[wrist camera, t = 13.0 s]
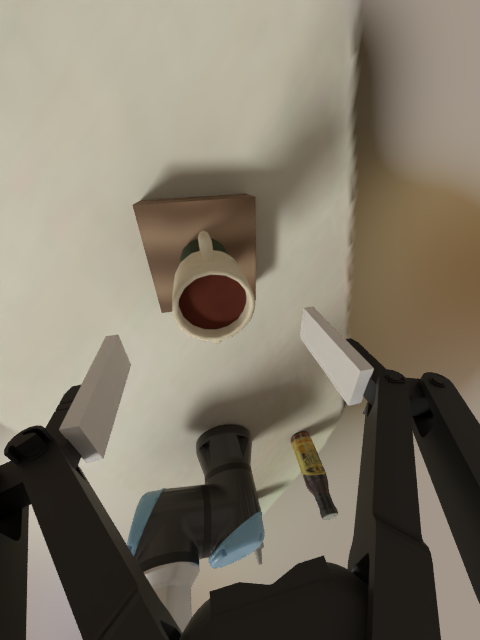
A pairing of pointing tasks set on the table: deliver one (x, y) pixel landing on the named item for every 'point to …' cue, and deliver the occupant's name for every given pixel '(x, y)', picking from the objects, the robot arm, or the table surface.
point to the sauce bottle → (313, 473)
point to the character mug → (210, 292)
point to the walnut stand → (195, 234)
